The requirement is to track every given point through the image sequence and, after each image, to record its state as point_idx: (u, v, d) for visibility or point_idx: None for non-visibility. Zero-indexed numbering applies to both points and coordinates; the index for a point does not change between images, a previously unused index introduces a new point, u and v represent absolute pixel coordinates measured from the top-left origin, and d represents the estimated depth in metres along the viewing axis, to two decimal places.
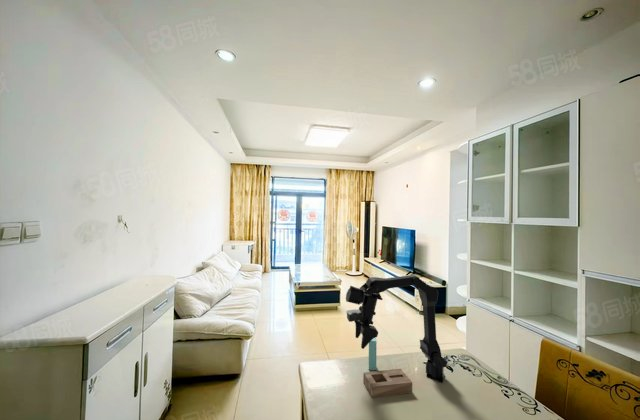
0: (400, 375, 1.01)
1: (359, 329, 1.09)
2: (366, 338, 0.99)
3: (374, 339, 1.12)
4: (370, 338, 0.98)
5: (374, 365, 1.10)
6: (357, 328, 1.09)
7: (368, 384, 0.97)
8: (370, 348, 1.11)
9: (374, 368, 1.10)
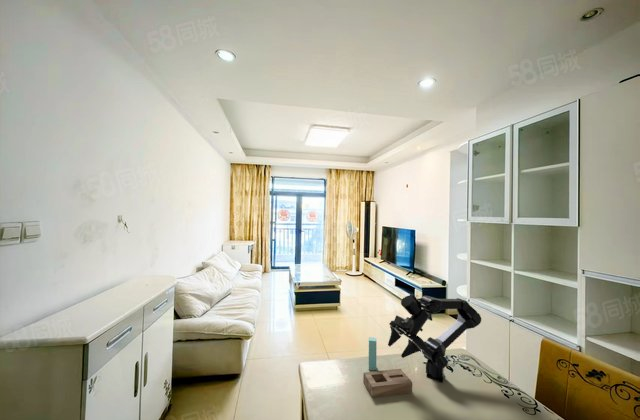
0: (400, 375, 1.01)
1: (394, 339, 1.07)
2: (411, 349, 0.97)
3: (374, 339, 1.12)
4: (414, 350, 0.97)
5: (374, 365, 1.10)
6: (392, 336, 1.07)
7: (368, 384, 0.97)
8: (370, 348, 1.11)
9: (374, 368, 1.10)
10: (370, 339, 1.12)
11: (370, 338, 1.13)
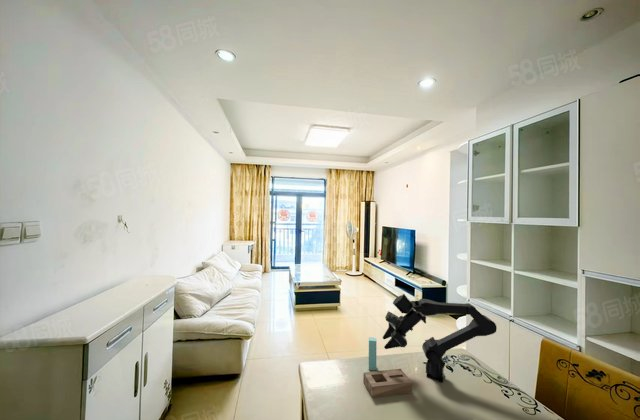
0: (400, 375, 1.01)
1: (389, 333, 1.16)
2: (393, 342, 1.05)
3: (374, 339, 1.12)
4: (396, 345, 1.04)
5: (374, 365, 1.10)
6: (387, 331, 1.16)
7: (368, 384, 0.97)
8: (370, 348, 1.11)
9: (374, 368, 1.10)
10: (370, 339, 1.12)
11: (370, 338, 1.13)
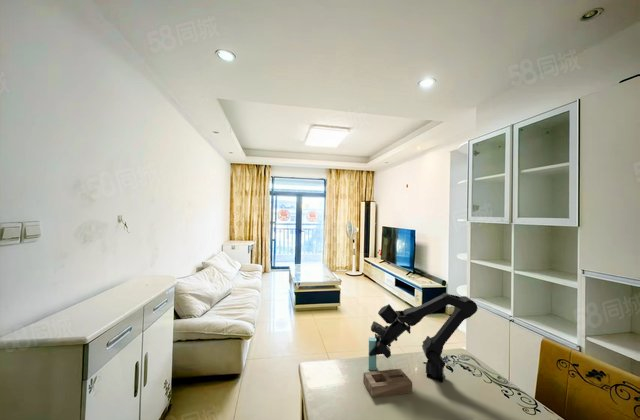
0: (400, 375, 1.01)
1: None
2: (377, 350, 1.09)
3: (374, 339, 1.12)
4: (380, 352, 1.08)
5: (374, 365, 1.10)
6: None
7: (368, 384, 0.97)
8: (370, 348, 1.11)
9: (374, 368, 1.10)
10: (370, 339, 1.12)
11: (370, 338, 1.13)
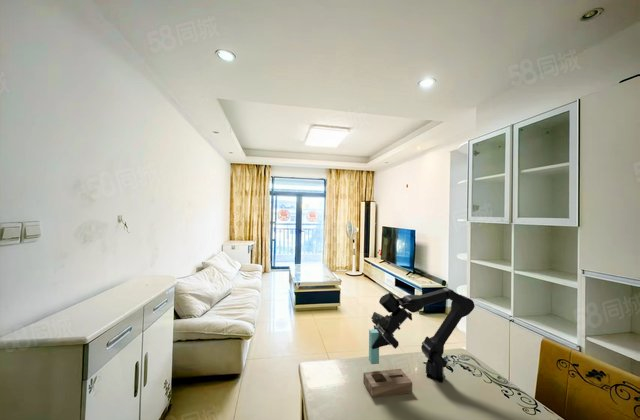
0: (400, 375, 1.01)
1: None
2: (381, 341, 1.02)
3: (376, 331, 1.05)
4: (384, 343, 1.02)
5: (377, 358, 1.03)
6: None
7: (368, 384, 0.97)
8: (373, 341, 1.03)
9: (377, 361, 1.03)
10: (372, 331, 1.05)
11: (371, 330, 1.06)
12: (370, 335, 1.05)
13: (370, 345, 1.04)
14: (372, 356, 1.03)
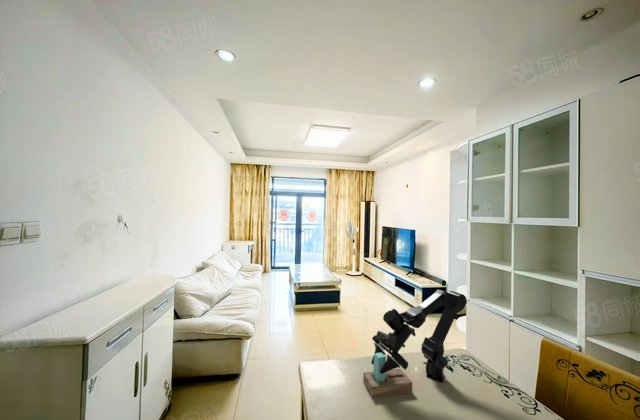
0: (400, 375, 1.01)
1: None
2: (389, 364, 0.95)
3: (381, 354, 0.99)
4: (393, 366, 0.95)
5: None
6: None
7: (368, 384, 0.97)
8: (379, 366, 0.97)
9: None
10: (378, 355, 0.98)
11: (377, 354, 0.99)
12: (376, 360, 0.98)
13: (376, 371, 0.98)
14: None
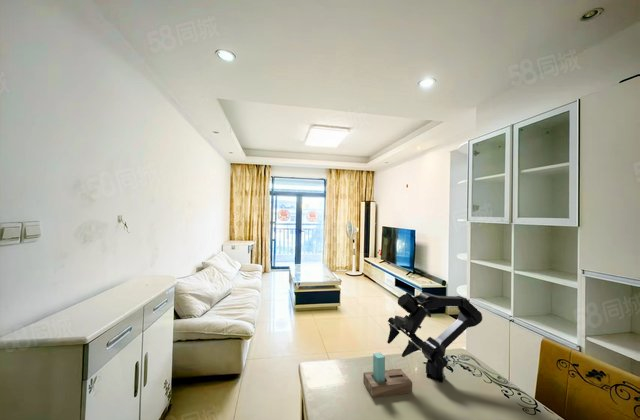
0: (400, 375, 1.01)
1: (393, 336, 1.08)
2: (411, 348, 0.98)
3: (381, 355, 0.99)
4: (414, 349, 0.99)
5: None
6: (391, 334, 1.08)
7: (368, 384, 0.97)
8: (379, 366, 0.97)
9: None
10: (377, 356, 0.98)
11: (376, 354, 0.99)
12: (375, 360, 0.98)
13: (375, 371, 0.97)
14: None
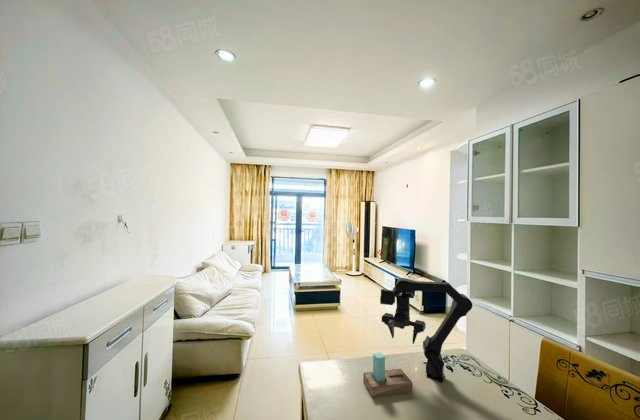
0: (400, 375, 1.01)
1: (393, 329, 1.15)
2: None
3: (381, 355, 0.99)
4: None
5: None
6: (391, 329, 1.14)
7: (368, 384, 0.97)
8: (379, 366, 0.97)
9: None
10: (377, 356, 0.98)
11: (376, 354, 0.99)
12: (375, 360, 0.98)
13: (375, 371, 0.97)
14: None
